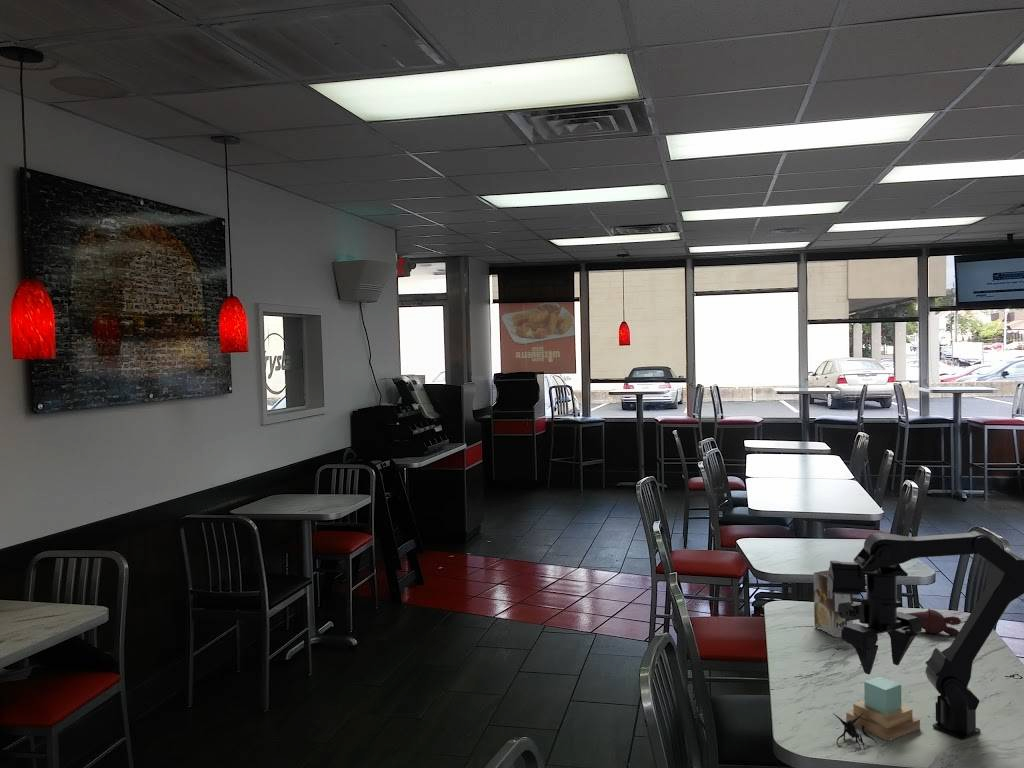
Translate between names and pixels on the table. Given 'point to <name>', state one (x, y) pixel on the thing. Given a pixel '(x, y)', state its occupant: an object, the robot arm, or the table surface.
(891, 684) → the teal block
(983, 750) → the table surface
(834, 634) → the coffee box
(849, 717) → the plinth
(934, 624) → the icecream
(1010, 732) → the table surface
